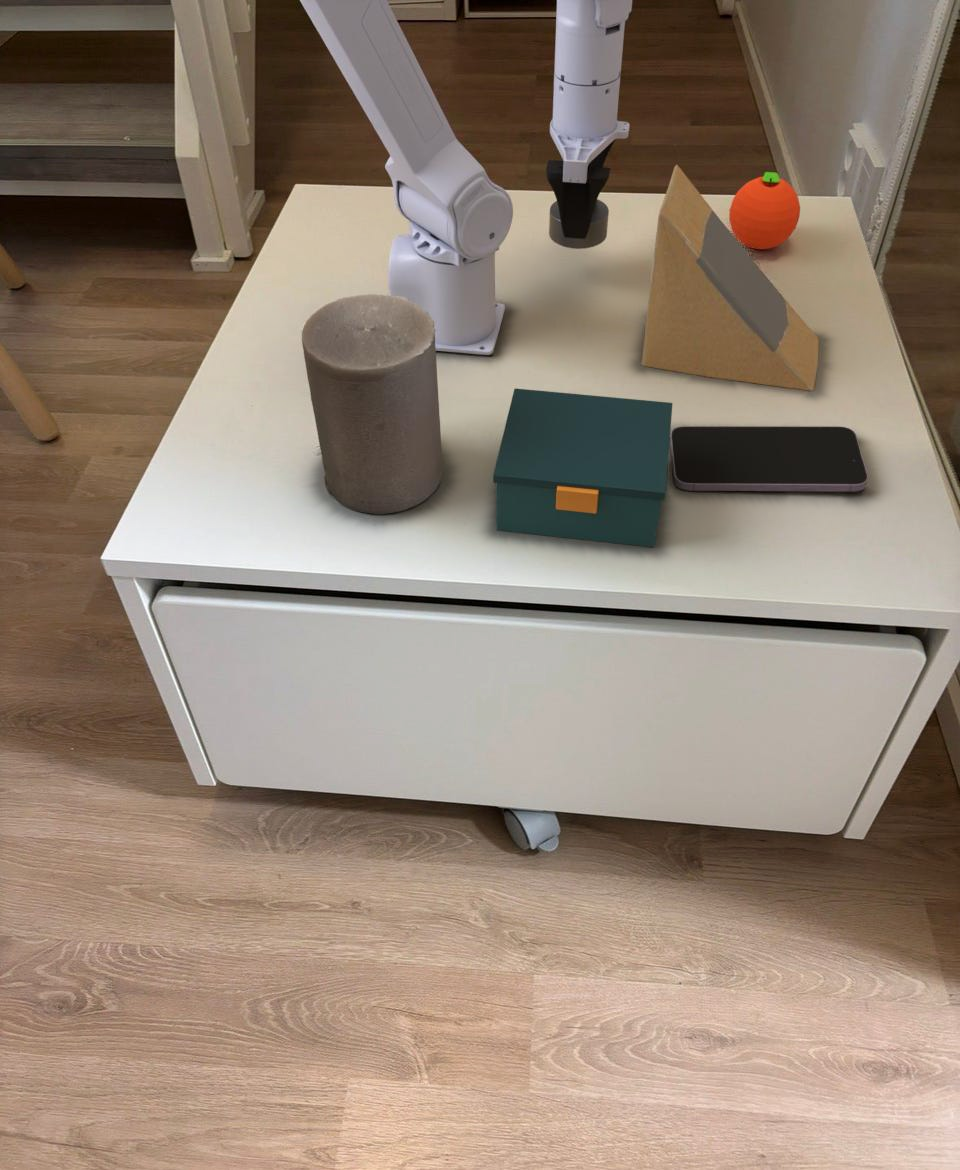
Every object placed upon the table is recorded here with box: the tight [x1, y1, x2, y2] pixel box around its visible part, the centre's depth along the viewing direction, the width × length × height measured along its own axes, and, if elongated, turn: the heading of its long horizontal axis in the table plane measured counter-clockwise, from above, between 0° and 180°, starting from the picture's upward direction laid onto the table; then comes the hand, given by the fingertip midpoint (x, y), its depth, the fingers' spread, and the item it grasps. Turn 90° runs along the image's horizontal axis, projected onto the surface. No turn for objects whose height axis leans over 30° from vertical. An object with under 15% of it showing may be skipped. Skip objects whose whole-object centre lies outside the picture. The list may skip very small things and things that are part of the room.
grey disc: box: [548, 198, 610, 250], centre depth 98 cm, size 6×6×2 cm
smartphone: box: [669, 425, 869, 493], centre depth 83 cm, size 7×1×15 cm
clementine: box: [728, 171, 801, 250], centre depth 104 cm, size 8×7×7 cm
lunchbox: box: [492, 388, 673, 548], centre depth 79 cm, size 12×11×6 cm
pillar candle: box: [301, 293, 443, 515], centre depth 78 cm, size 10×10×15 cm
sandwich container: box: [641, 164, 820, 392], centre depth 88 cm, size 9×15×15 cm, turn 74°
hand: (578, 220), depth 98 cm, fingers closed on grey disc, 5 cm apart
